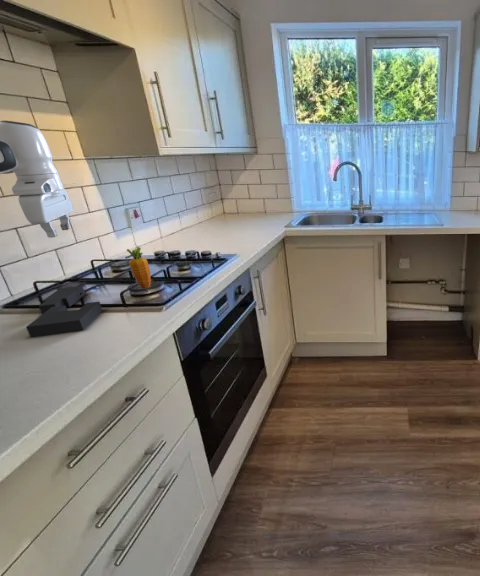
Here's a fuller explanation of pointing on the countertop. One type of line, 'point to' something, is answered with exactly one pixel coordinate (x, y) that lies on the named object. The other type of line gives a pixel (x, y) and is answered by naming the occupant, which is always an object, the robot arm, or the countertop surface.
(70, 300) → the pad
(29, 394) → the countertop surface
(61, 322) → the notch pad
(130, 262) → the carrot
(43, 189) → the robot arm
